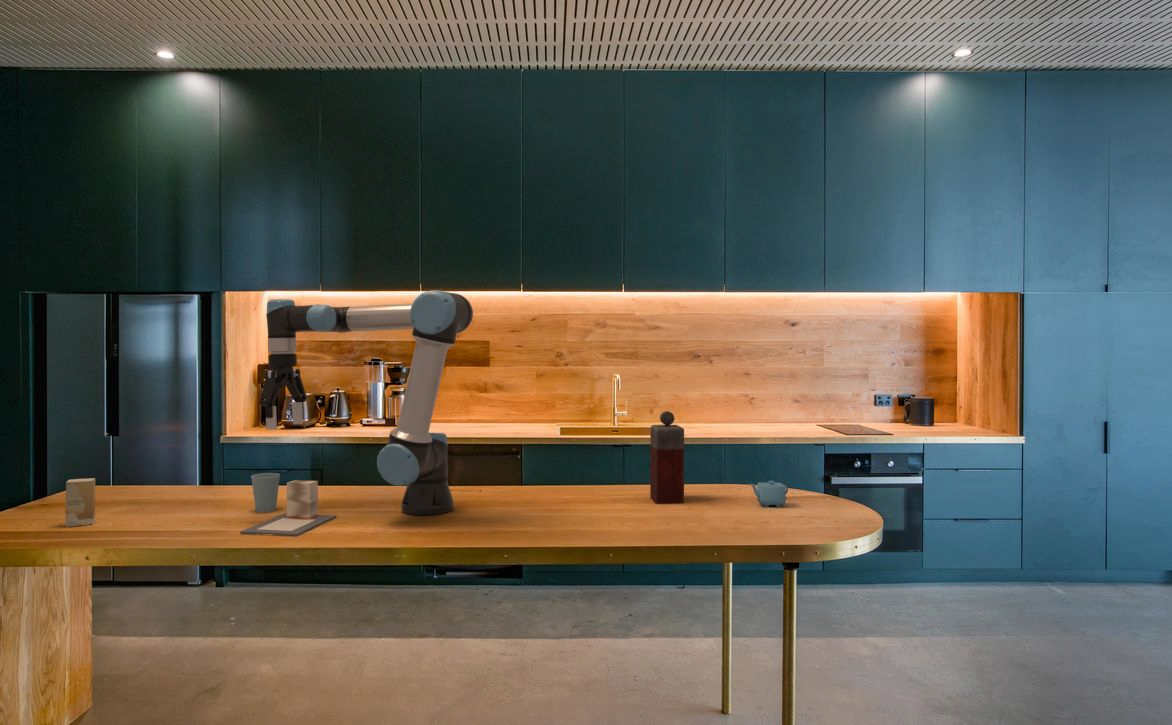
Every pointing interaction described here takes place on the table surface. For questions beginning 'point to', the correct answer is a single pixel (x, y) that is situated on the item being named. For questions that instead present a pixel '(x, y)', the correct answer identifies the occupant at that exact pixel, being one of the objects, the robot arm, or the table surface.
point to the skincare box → (80, 502)
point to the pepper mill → (667, 461)
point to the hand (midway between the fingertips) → (285, 426)
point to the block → (302, 499)
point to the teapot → (770, 493)
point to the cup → (265, 491)
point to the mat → (287, 525)
